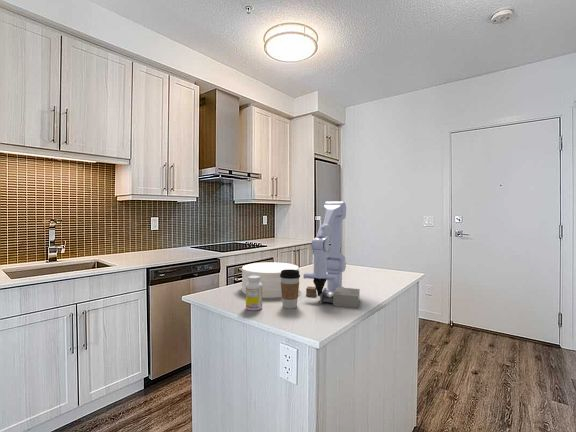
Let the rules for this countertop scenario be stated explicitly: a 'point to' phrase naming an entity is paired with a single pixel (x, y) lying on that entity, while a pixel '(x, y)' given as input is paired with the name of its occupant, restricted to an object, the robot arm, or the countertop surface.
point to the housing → (346, 297)
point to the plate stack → (266, 276)
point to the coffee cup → (289, 287)
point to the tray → (322, 297)
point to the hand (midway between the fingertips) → (319, 295)
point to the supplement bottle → (253, 293)
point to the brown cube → (311, 291)
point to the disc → (329, 294)
